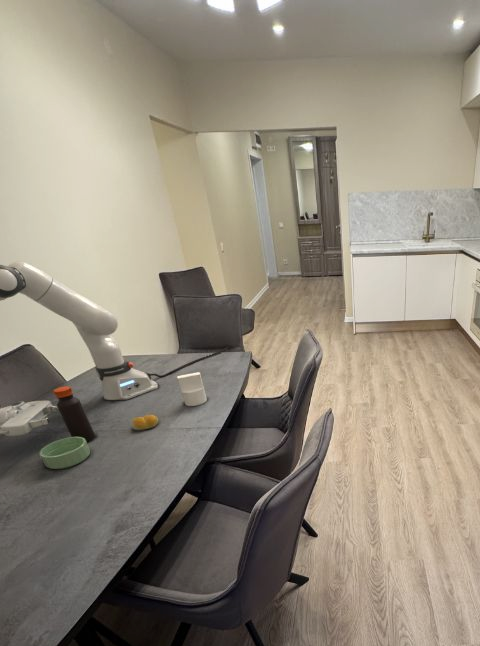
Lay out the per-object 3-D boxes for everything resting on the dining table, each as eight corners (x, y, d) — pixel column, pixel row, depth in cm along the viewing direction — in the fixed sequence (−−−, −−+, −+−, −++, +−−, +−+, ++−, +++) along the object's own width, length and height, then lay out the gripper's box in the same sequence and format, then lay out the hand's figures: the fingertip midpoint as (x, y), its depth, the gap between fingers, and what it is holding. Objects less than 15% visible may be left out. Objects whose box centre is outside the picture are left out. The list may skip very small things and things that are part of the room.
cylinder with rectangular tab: (205, 395, 173) (199, 369, 167) (208, 402, 166) (201, 376, 160) (184, 399, 170) (176, 373, 164) (185, 407, 162) (177, 380, 156)
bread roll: (160, 426, 149) (157, 416, 147) (135, 433, 145) (131, 423, 143) (157, 418, 155) (154, 409, 153) (132, 424, 151) (129, 415, 149)
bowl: (86, 444, 139) (80, 432, 136) (95, 458, 131) (89, 445, 128) (43, 459, 131) (36, 447, 129) (50, 475, 123) (43, 461, 121)
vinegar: (78, 436, 145) (55, 386, 135) (98, 433, 146) (76, 384, 136) (71, 445, 139) (46, 394, 129) (91, 442, 140) (69, 391, 130)
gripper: (-13, 426, 123) (35, 420, 126) (21, 399, 141) (63, 395, 143) (-3, 443, 127) (43, 437, 129) (29, 415, 144) (70, 410, 146)
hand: (54, 414), depth 136 cm, fingers open, 8 cm apart
